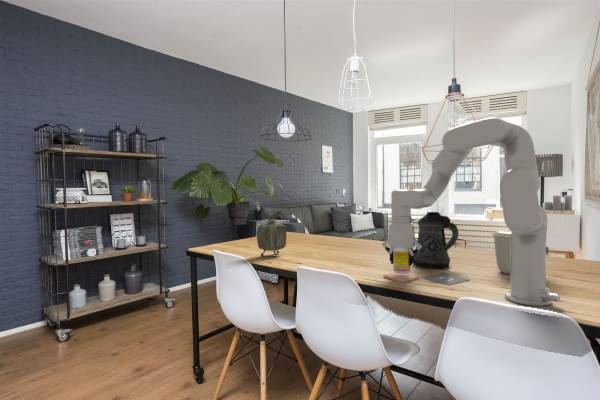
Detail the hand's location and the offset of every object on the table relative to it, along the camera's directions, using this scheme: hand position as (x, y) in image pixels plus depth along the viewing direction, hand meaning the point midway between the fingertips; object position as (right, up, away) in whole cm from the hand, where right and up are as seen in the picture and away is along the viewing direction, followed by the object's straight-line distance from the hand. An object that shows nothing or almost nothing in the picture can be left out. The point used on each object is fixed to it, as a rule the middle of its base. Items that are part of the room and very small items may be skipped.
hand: (401, 263), depth 142 cm
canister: (+50, -5, +5) cm, 50 cm away
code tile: (+17, -6, -2) cm, 18 cm away
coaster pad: (0, -6, 0) cm, 6 cm away
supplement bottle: (0, -4, 0) cm, 4 cm away
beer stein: (+22, -5, +22) cm, 31 cm away
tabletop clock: (-56, -5, +51) cm, 76 cm away
